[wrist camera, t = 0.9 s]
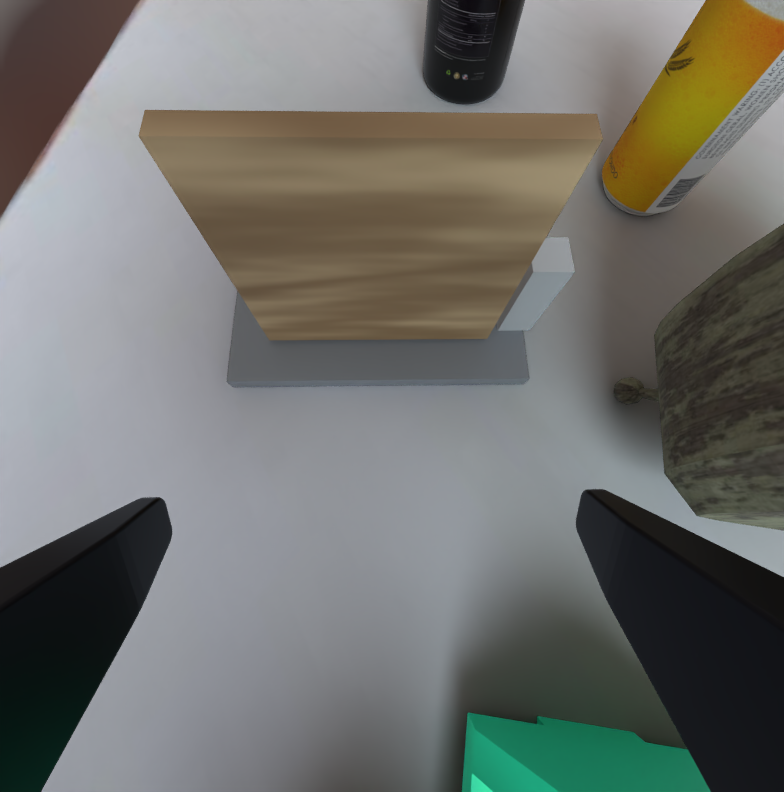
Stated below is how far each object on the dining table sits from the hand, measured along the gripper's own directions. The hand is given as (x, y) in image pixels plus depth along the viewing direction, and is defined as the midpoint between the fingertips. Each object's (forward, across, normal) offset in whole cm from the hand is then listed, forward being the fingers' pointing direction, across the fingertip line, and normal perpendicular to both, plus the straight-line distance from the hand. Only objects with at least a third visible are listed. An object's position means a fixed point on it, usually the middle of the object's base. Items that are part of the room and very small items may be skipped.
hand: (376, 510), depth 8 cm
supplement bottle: (+33, -7, -18) cm, 38 cm away
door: (+16, 0, 0) cm, 16 cm away
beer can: (+26, -20, -9) cm, 33 cm away
